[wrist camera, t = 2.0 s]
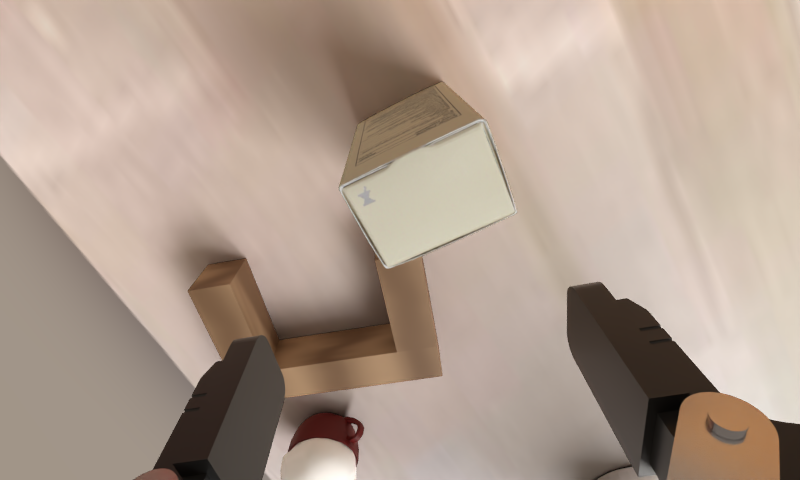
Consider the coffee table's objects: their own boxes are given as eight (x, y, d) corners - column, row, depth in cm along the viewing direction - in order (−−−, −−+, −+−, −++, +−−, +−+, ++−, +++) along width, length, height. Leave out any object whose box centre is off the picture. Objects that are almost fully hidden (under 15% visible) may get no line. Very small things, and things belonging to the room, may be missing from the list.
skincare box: (385, 180, 29) (379, 276, 18) (355, 122, 27) (328, 190, 16) (473, 140, 28) (523, 217, 17) (448, 76, 26) (486, 116, 15)
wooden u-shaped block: (417, 229, 30) (419, 253, 27) (438, 345, 35) (442, 376, 32) (208, 264, 32) (187, 290, 29) (256, 371, 37) (243, 403, 34)
